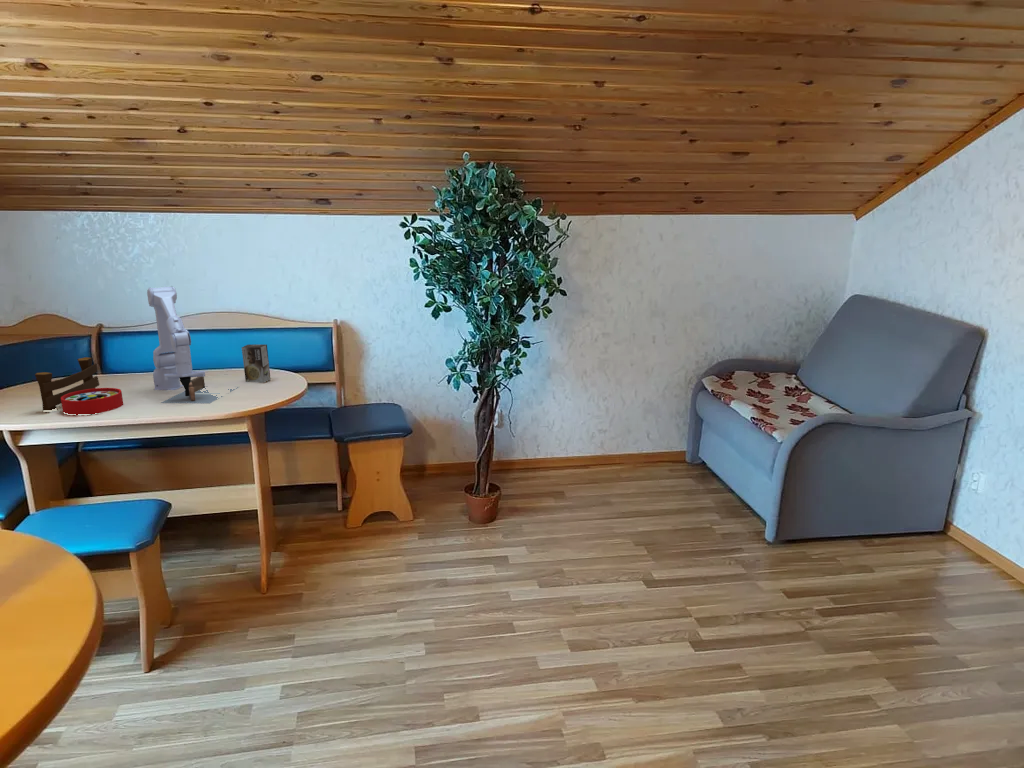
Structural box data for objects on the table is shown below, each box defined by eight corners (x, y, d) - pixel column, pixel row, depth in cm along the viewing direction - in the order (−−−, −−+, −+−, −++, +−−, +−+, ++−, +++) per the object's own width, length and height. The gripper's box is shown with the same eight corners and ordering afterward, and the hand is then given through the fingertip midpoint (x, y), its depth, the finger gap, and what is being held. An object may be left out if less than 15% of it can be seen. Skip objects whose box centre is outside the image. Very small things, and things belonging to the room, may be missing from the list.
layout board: (160, 403, 267) (160, 402, 267) (194, 387, 292) (194, 386, 292) (209, 404, 266) (209, 403, 266) (239, 387, 291) (239, 386, 291)
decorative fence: (51, 413, 256) (44, 374, 252) (36, 413, 255) (28, 375, 252) (102, 390, 288) (97, 356, 285) (88, 391, 288) (83, 356, 284)
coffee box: (271, 379, 305) (267, 344, 301) (264, 383, 299) (261, 347, 295) (251, 379, 306) (248, 344, 302) (244, 382, 300) (241, 346, 296)
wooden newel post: (188, 394, 279) (187, 382, 278) (193, 393, 280) (191, 382, 278) (191, 400, 269) (189, 388, 267) (195, 400, 269) (194, 388, 268)
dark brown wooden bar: (187, 394, 280) (186, 382, 278) (201, 387, 291) (200, 375, 290) (191, 394, 280) (190, 382, 278) (205, 387, 291) (204, 375, 289)
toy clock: (132, 387, 270) (100, 401, 250) (134, 402, 271) (102, 416, 252) (83, 387, 271) (47, 401, 251) (86, 401, 272) (50, 416, 253)
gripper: (162, 365, 262) (166, 399, 266) (203, 362, 268) (207, 395, 271) (163, 362, 269) (167, 395, 272) (203, 359, 274) (207, 391, 278)
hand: (187, 395), depth 272 cm, fingers closed
